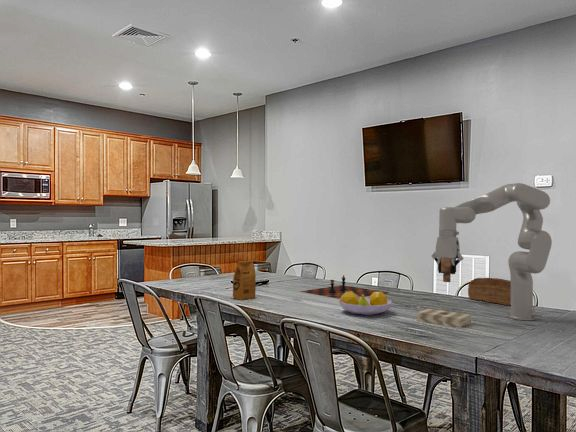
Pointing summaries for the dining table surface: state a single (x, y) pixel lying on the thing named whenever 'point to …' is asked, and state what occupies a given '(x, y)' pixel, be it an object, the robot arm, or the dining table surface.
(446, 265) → the peg
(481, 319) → the dining table surface
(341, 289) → the chessboard
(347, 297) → the fruit bowl
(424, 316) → the board
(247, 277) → the coffee package
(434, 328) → the dining table surface
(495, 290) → the bread
